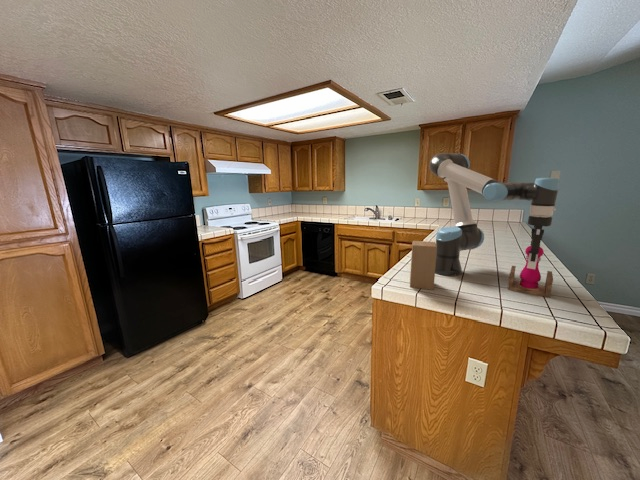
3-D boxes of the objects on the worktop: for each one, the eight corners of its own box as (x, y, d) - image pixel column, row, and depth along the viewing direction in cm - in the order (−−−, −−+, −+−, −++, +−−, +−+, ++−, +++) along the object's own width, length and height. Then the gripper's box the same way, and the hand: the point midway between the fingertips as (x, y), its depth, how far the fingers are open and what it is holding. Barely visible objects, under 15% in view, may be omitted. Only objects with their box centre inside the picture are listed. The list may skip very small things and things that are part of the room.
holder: (507, 289, 114) (510, 271, 112) (509, 281, 122) (512, 265, 120) (549, 297, 105) (553, 278, 103) (548, 289, 113) (551, 271, 111)
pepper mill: (543, 290, 109) (551, 244, 105) (523, 288, 110) (531, 243, 106) (532, 283, 116) (540, 240, 112) (514, 282, 117) (521, 240, 113)
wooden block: (431, 282, 123) (435, 241, 119) (433, 290, 114) (437, 246, 110) (410, 279, 127) (412, 240, 122) (409, 287, 117) (412, 245, 113)
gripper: (554, 220, 95) (543, 274, 100) (551, 213, 113) (541, 258, 118) (528, 218, 99) (519, 270, 104) (529, 212, 118) (521, 256, 123)
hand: (531, 264), depth 111 cm, fingers open, 13 cm apart
